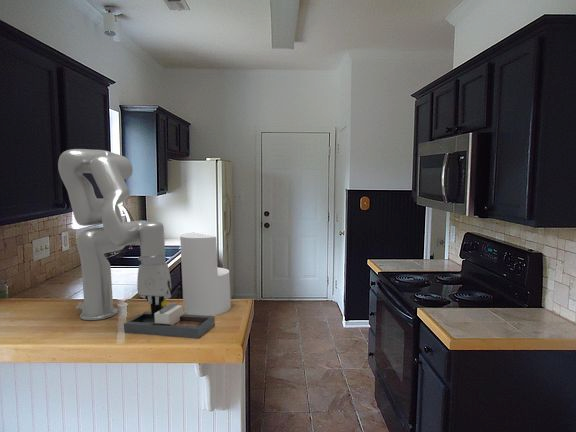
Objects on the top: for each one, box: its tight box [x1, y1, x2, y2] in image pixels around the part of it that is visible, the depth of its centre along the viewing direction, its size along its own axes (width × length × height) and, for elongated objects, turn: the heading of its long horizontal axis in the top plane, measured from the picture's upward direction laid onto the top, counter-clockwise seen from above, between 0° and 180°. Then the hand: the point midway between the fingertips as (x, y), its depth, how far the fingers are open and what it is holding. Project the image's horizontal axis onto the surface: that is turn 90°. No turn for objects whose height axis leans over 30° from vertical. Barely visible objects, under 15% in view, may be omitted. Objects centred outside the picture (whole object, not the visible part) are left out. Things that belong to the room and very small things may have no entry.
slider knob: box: [154, 301, 184, 325], centre depth 140 cm, size 5×9×6 cm, turn 166°
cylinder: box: [179, 232, 232, 316], centre depth 159 cm, size 17×17×28 cm
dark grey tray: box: [123, 311, 216, 339], centre depth 140 cm, size 26×12×3 cm, turn 76°
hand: (156, 315), depth 141 cm, fingers closed
